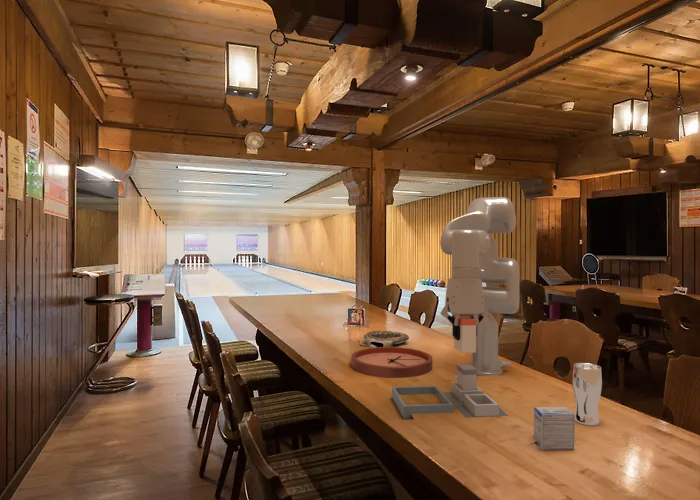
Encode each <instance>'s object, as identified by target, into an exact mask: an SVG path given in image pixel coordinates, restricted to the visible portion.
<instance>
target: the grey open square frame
mask: <svg viewBox="0 0 700 500" xmlns="http://www.w3.org/2000/svg"><path fill="white" fill-rule="evenodd" d="M424 394H425V395H426V394H427V395H428V394H430V395H431V394H434V395H435V396H436V397H437V398H438V399H439V401H441V403H437V404H436V403H433V404H432V403H431V404H406V403H405V402H404V400H403V398H402V397H401V395H424ZM391 399H392V402H393V403H394V404H395V407H396V408H397V410H398V412H399V413H400V415H401V417H402V419H403V420H414V417H413V415H414V414H440V413H454V404H453V403H452V402H451V401H450V400H449V399H448V398H447V397H446V395H445V394H444V393H443V391H442V390H441V389H440V388H439V387H438V386H437V385H430V386H429V385H427V386H425V385H419V386H393V387H391ZM412 414H413V415H412Z"/></svg>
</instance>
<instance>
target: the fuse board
mask: <svg viewBox="0 0 700 500" xmlns="http://www.w3.org/2000/svg"><path fill="white" fill-rule="evenodd" d="M442 393H443V394H444V395H445V396H446V397H447V398H448V399H449V400H450V401H451V403H452V404H453V406H454V407H456V408H457V409H458V411H459V412H460V413H461V414H462V415H463V416H464V418H484V417H485V418H487V417H488V418H490V417H508V416H509V415H508V414H507V412H505V411H504V410H503V409H502V408H500V404H499V403H498V402H496V401H495V400H494V399H493V398H492V397H490V396H489V395H488V394H487V393H484V391H483V390H482V389H481V388H480V387H478V386H477V390H470V391H462V390H461V389H460V388H459V387H458V386H457V381H456V382H454V381H453V382H452V381H451V384H450V391H442Z"/></svg>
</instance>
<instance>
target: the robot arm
mask: <svg viewBox="0 0 700 500" xmlns="http://www.w3.org/2000/svg"><path fill="white" fill-rule="evenodd" d="M516 215H517V214H516V211H515V207H514V204H513V202H512V200H511V199H509V198H508V197H506V196H496V197H495V196H493V197H491V196H490V197H488V196H487V197H479V198H475V199H474V200H472V201H471V202H470V203H469V205H468V208H467V210H466V212H465V214H462V215H461V216H459V217H456V218H454V219H452V220H450V221H449V222H447V223H446V225H445V226H444V228H443V230H442V233H441V236H440V241H439V245H440V249H441V250H442V252H443V253H444V254H446V255H451V277H450V278H448V279H447V285H446V289H445V299H444V300H445V301H444V306H443V308H442V310H441V311H440V313H439V314H440V315H441V316H442V317H443V318H445V319H446V320H448V322H450V324H451V326H452V331H451V332H452V337H453V339H454V338H455V339H456V340H460V326H459V318H460V316H468V315H469V317H471V318H473V319H475V320H476V352H475V353H470V354H471V355H470V356H471V358H470V359H471V362H470V363H471V364H470V365H471V366H473V367H474V368H475V369H477V376H501V375H502V374H503V368H509V367H512V364H511V361H505V360H500V359H499V324H498V321H497V320H496V318H495V317H494V316H493V315H492V314H504V315H507V314H508V315H512V314H516V313H517V312H518V311H519V309H520V266H519V262H518V261H517V260H516V259H515V258H511V257H500V256H499V244H498V242H497V240H496V239H495V238H494V237H493V235H492V234H509V233H512V232H514V231H515V229H516V226H517V216H516ZM483 283H484V284H502V285H505V286H506V287H500V286H499V287H498V286H483ZM449 313H450V314H451V315H450V314H449Z"/></svg>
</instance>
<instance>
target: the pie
mask: <svg viewBox="0 0 700 500" xmlns="http://www.w3.org/2000/svg"><path fill="white" fill-rule="evenodd" d="M363 339H365V341H363V340H361V338H360V339H358V341H359V345H360V346H361V347H369V348H375V347H378V346H377V345H375V344H372V343H380V344H383V346H382V347H400V346H401V345H405V343H406V341H408V340H409V339H410V336H409V335H408V334H407V333H403V332H401V331H400V332H399V331H391V330H371V331H369V332H366V333H365V334H364V335H363ZM362 342H364V343H365V345H363V343H362ZM371 342H372V343H371ZM361 343H362V345H361ZM367 344H368V345H367Z"/></svg>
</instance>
